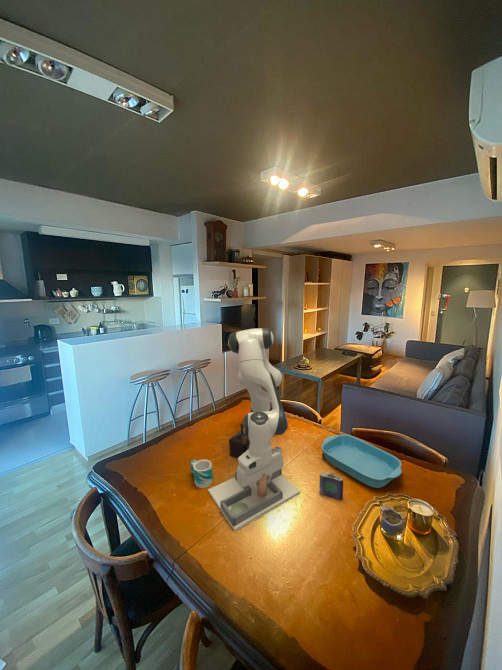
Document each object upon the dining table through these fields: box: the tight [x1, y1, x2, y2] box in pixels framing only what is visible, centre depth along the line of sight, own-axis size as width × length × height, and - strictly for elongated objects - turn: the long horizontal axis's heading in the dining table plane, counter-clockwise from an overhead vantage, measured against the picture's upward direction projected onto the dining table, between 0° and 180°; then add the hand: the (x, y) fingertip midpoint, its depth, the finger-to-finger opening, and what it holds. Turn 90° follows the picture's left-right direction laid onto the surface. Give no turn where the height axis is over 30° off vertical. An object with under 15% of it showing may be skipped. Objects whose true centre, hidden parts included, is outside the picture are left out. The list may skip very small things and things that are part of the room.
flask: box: [318, 470, 344, 501], centre depth 110 cm, size 9×3×11 cm, turn 65°
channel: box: [207, 468, 301, 532], centre depth 113 cm, size 31×23×4 cm
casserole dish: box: [320, 434, 403, 489], centre depth 127 cm, size 37×22×7 cm, turn 36°
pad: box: [230, 502, 248, 516], centre depth 104 cm, size 7×7×1 cm
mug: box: [189, 458, 214, 489], centre depth 122 cm, size 8×12×8 cm
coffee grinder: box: [228, 423, 250, 460], centre depth 141 cm, size 16×11×18 cm
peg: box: [257, 473, 267, 498], centre depth 108 cm, size 4×4×10 cm
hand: (261, 485), depth 108 cm, fingers closed on peg, 4 cm apart
